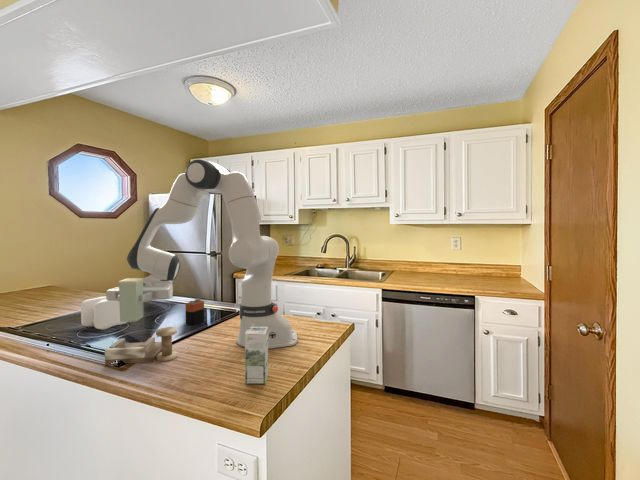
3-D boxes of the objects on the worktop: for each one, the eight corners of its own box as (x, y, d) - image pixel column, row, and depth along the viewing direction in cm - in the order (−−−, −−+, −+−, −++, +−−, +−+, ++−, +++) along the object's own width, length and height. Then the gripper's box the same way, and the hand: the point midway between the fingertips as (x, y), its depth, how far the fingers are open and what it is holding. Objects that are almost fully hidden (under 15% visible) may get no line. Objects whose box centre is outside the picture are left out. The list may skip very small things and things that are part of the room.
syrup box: (268, 374, 89) (268, 325, 89) (265, 385, 84) (265, 333, 83) (248, 374, 89) (248, 325, 88) (244, 385, 83) (244, 333, 82)
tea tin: (143, 316, 104) (143, 278, 103) (136, 321, 98) (136, 281, 98) (127, 316, 103) (126, 278, 102) (119, 321, 98) (118, 281, 97)
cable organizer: (94, 332, 121) (93, 303, 121) (80, 328, 126) (79, 300, 126) (132, 322, 134) (131, 295, 134) (119, 318, 140) (118, 293, 139)
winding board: (168, 345, 109) (167, 333, 109) (153, 361, 97) (153, 348, 96) (125, 347, 107) (125, 334, 107) (105, 364, 95) (104, 350, 94)
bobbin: (179, 352, 103) (179, 326, 103) (173, 360, 97) (173, 333, 97) (160, 353, 102) (160, 327, 102) (153, 361, 97) (152, 334, 96)
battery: (204, 320, 137) (204, 298, 136) (192, 325, 131) (192, 302, 130) (197, 319, 139) (197, 297, 138) (185, 323, 132) (184, 301, 132)
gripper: (117, 281, 111) (94, 289, 98) (176, 280, 114) (163, 288, 100) (117, 298, 112) (95, 309, 98) (176, 297, 115) (163, 307, 101)
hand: (130, 298), depth 99 cm, fingers closed on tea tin, 5 cm apart
